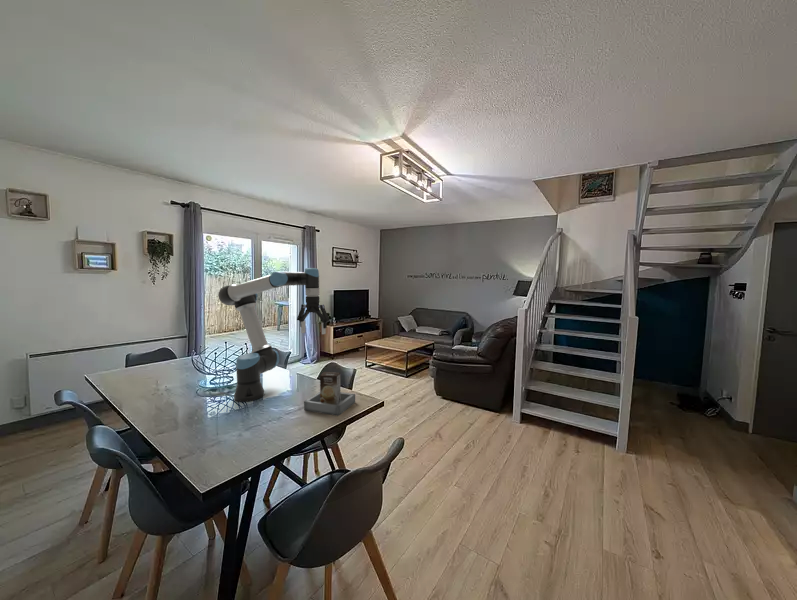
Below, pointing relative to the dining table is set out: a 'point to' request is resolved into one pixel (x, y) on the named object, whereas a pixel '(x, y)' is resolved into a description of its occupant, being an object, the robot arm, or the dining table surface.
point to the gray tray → (317, 406)
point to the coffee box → (330, 388)
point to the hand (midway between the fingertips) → (313, 333)
